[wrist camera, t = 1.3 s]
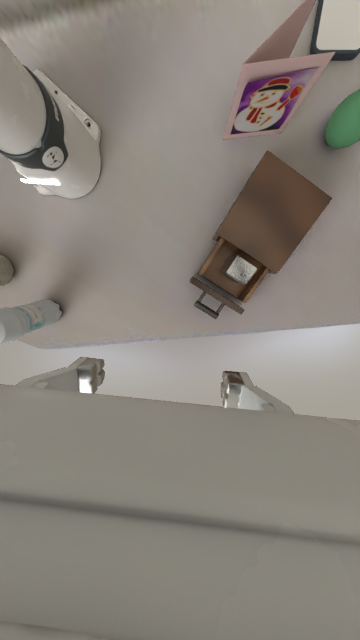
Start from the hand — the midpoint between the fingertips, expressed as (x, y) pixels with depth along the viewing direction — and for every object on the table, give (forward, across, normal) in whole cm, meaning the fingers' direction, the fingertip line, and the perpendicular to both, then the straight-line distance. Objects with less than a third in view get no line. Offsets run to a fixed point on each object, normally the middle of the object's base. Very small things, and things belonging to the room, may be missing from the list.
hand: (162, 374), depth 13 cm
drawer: (+35, -10, -6) cm, 37 cm away
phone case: (+36, -24, -54) cm, 69 cm away
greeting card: (+36, -11, -37) cm, 53 cm away
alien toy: (+36, -28, -35) cm, 57 cm away
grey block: (+34, -10, -8) cm, 37 cm away
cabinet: (+36, -16, -18) cm, 43 cm away
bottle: (+36, +34, +6) cm, 50 cm away
